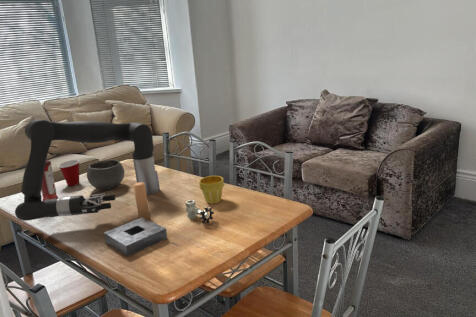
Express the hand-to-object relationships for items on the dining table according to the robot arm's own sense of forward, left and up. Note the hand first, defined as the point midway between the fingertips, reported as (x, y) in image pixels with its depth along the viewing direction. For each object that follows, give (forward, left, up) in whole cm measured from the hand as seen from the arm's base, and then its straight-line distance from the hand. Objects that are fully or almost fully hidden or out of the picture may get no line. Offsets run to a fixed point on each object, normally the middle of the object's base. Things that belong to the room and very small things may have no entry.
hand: (112, 201), depth 165 cm
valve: (-22, +25, -9) cm, 35 cm away
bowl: (-18, -42, -9) cm, 47 cm away
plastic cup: (-9, -64, -9) cm, 65 cm away
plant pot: (-38, +16, -9) cm, 42 cm away
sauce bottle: (+8, -49, -9) cm, 51 cm away
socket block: (+3, +21, -9) cm, 23 cm away
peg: (-9, +7, -9) cm, 14 cm away
